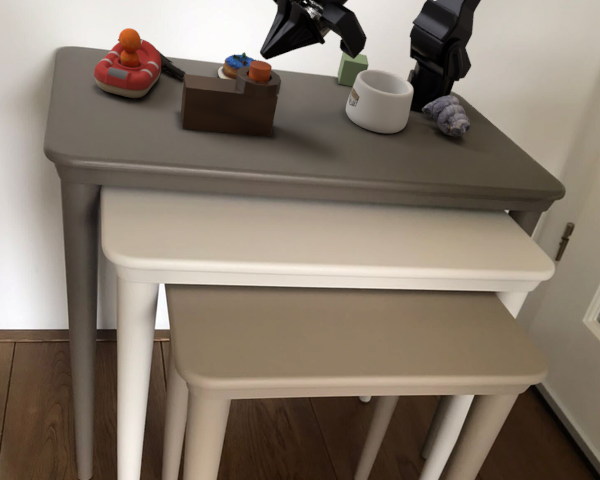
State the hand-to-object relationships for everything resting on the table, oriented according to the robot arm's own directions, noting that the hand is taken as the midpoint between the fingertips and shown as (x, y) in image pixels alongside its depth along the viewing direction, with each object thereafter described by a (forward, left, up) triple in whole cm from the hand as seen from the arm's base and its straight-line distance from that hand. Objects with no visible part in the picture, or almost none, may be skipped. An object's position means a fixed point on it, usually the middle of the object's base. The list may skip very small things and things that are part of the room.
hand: (262, 56), depth 86 cm
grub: (-30, -11, -10) cm, 34 cm away
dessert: (+2, -15, -10) cm, 19 cm away
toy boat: (+18, -7, -10) cm, 22 cm away
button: (0, 0, -3) cm, 3 cm away
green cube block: (-16, -23, -10) cm, 30 cm away
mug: (-18, -11, -10) cm, 24 cm away
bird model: (+17, -12, -9) cm, 22 cm away
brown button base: (+3, +1, -10) cm, 11 cm away
